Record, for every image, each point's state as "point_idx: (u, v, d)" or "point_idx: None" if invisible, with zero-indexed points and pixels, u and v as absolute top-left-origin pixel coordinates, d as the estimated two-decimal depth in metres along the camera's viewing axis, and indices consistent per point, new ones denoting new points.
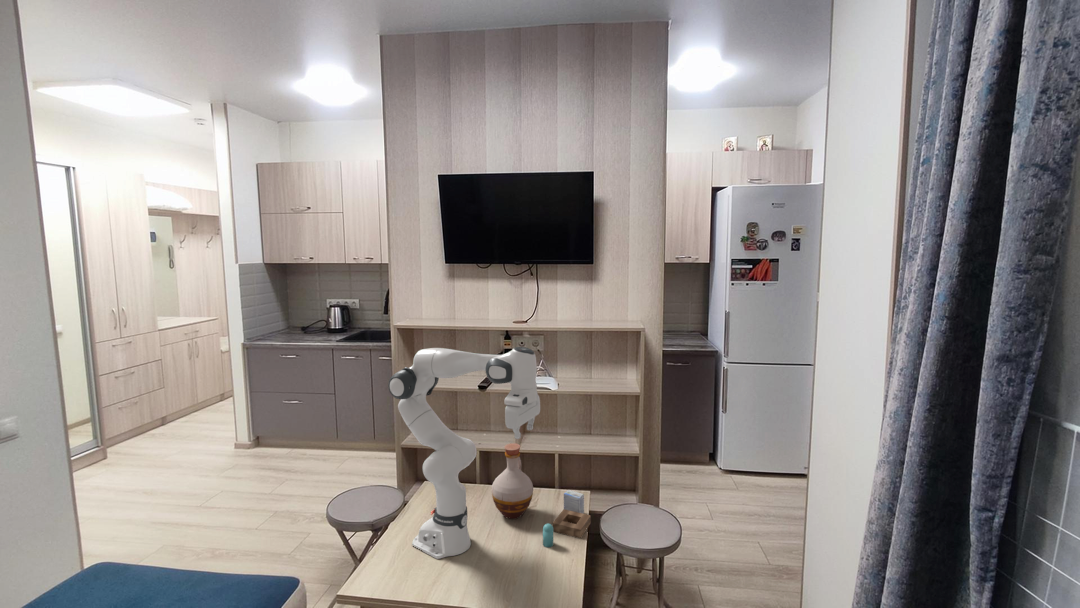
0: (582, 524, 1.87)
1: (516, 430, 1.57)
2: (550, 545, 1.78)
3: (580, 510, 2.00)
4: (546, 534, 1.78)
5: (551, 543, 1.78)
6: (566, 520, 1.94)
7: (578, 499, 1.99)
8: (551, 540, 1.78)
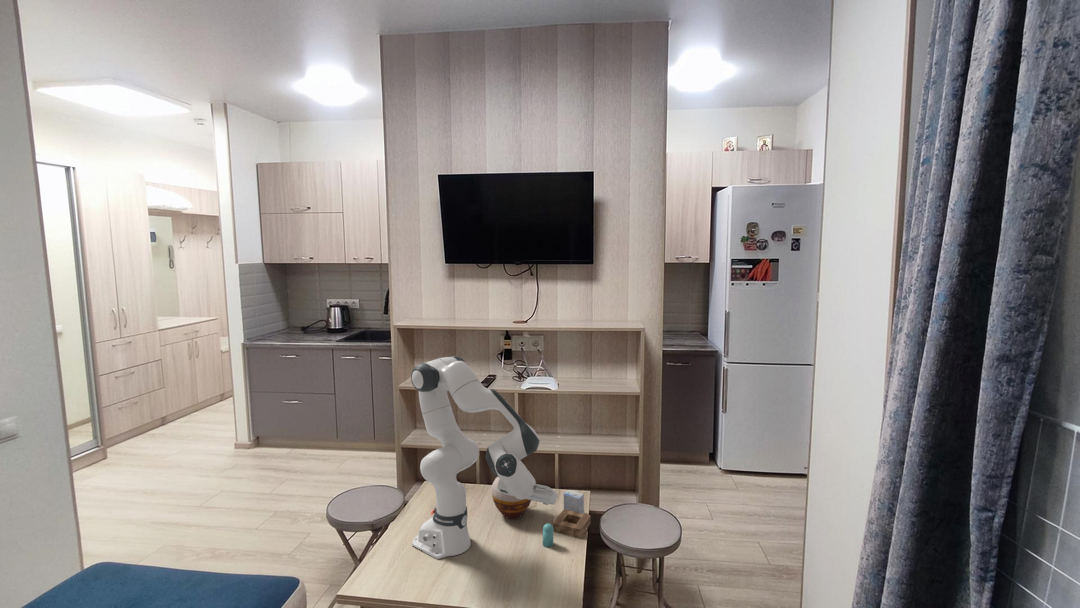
0: (582, 524, 1.87)
1: None
2: (550, 545, 1.78)
3: (580, 510, 2.00)
4: (546, 534, 1.78)
5: (551, 543, 1.78)
6: (566, 520, 1.94)
7: (578, 499, 1.99)
8: (551, 540, 1.78)
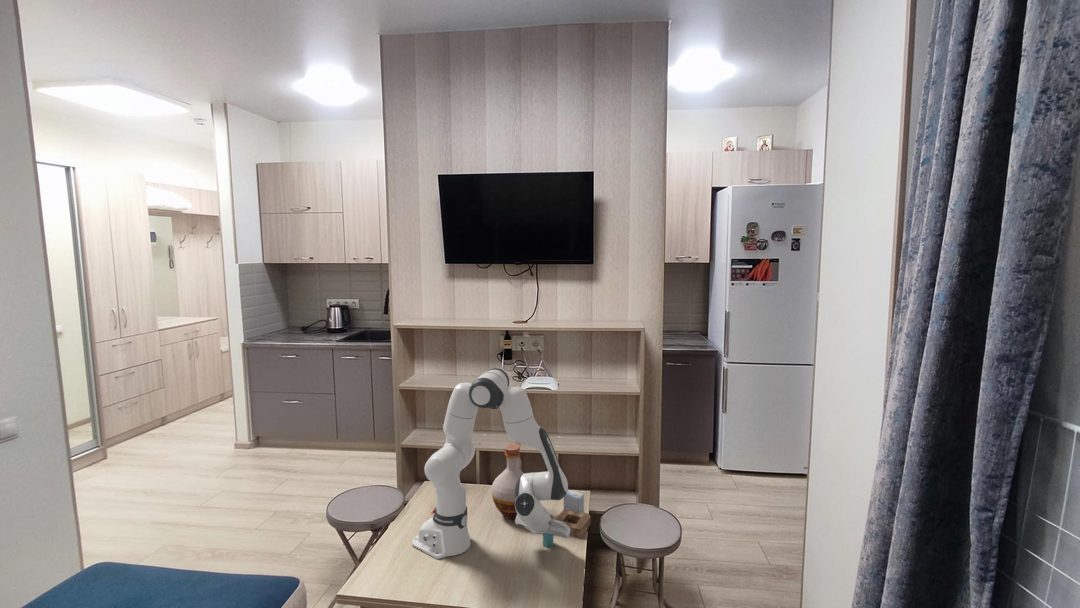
0: (582, 524, 1.87)
1: None
2: (550, 545, 1.78)
3: (580, 510, 2.00)
4: (546, 534, 1.78)
5: (551, 543, 1.78)
6: (566, 520, 1.94)
7: (578, 499, 1.99)
8: (551, 540, 1.78)
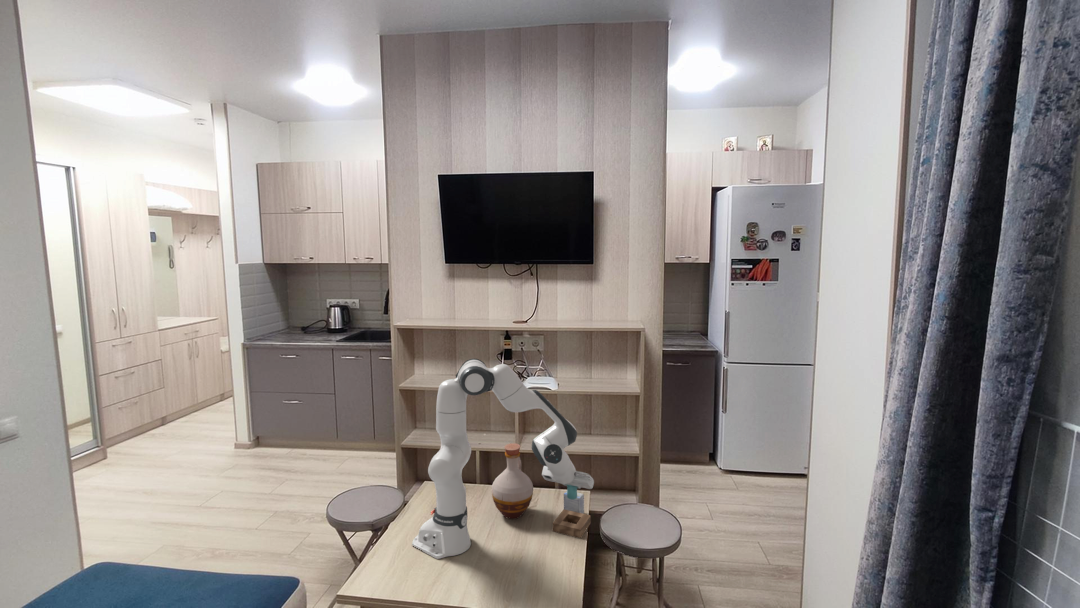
0: (582, 524, 1.87)
1: None
2: (574, 497, 1.89)
3: (580, 510, 2.00)
4: (570, 487, 1.89)
5: (575, 495, 1.89)
6: (566, 520, 1.94)
7: (578, 499, 1.99)
8: (575, 492, 1.89)
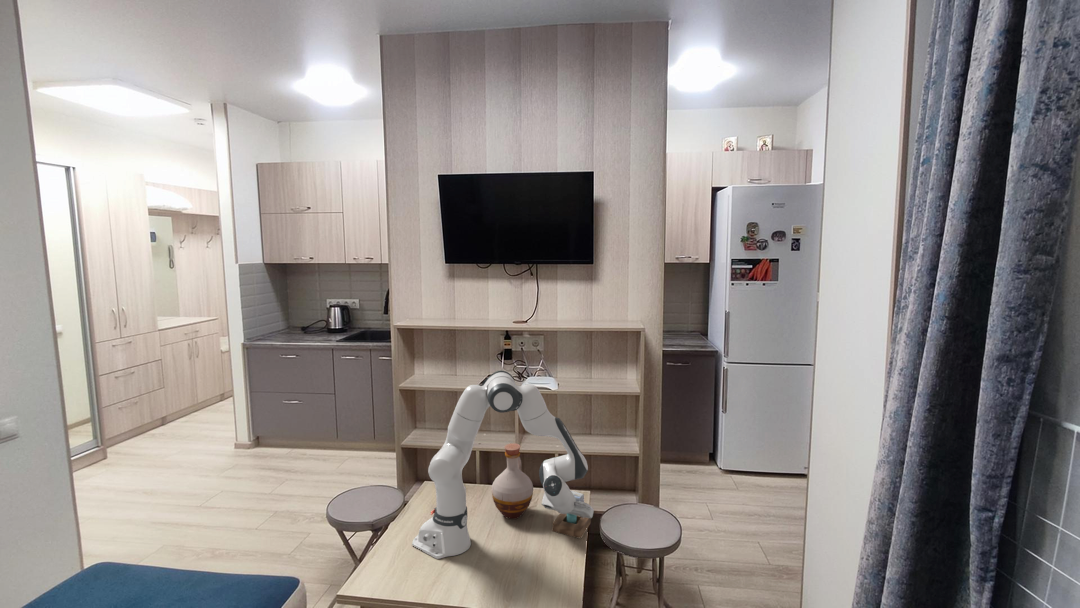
0: (582, 524, 1.87)
1: None
2: None
3: None
4: (570, 517, 1.89)
5: None
6: (566, 520, 1.94)
7: (578, 499, 1.99)
8: (575, 523, 1.90)
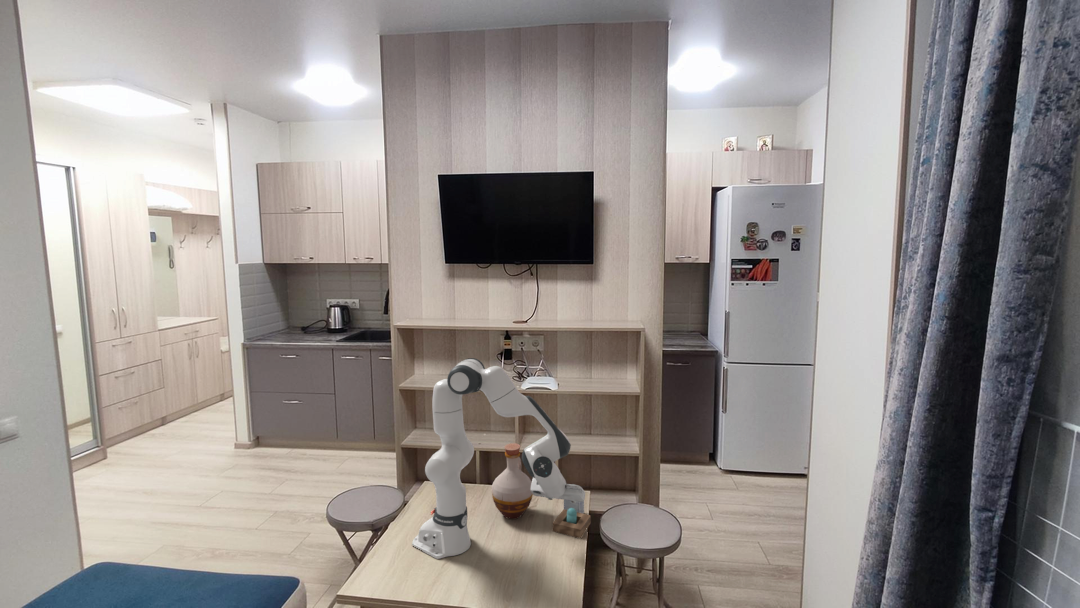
0: (582, 524, 1.87)
1: None
2: None
3: (580, 510, 2.00)
4: (570, 517, 1.89)
5: None
6: (566, 520, 1.94)
7: None
8: (575, 523, 1.90)
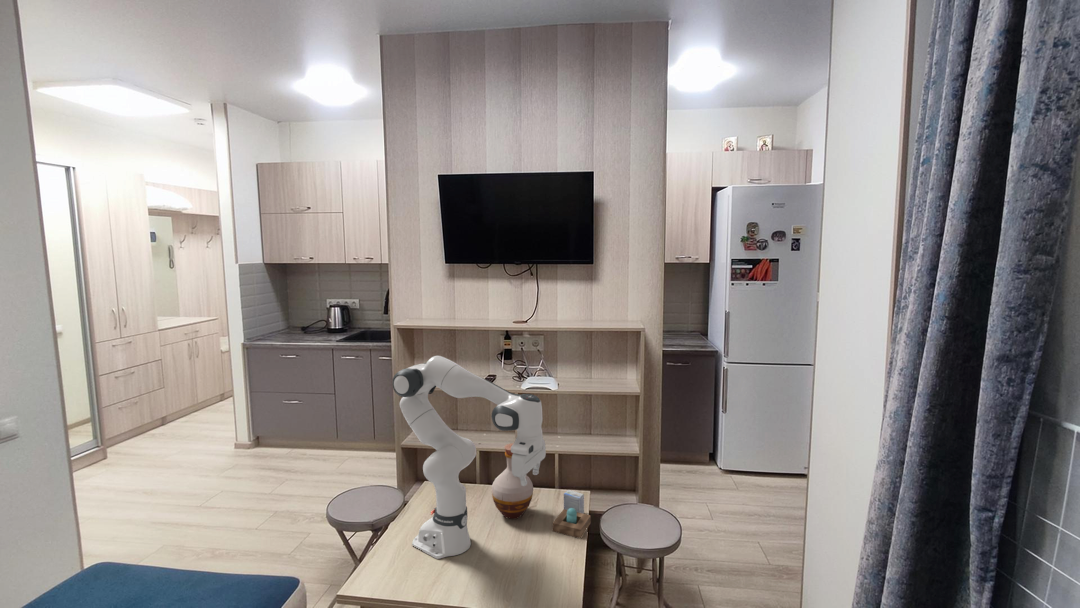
0: (582, 524, 1.87)
1: (522, 477, 1.59)
2: None
3: (580, 510, 2.00)
4: (570, 517, 1.89)
5: None
6: (566, 520, 1.94)
7: (578, 499, 1.99)
8: (574, 523, 1.90)
